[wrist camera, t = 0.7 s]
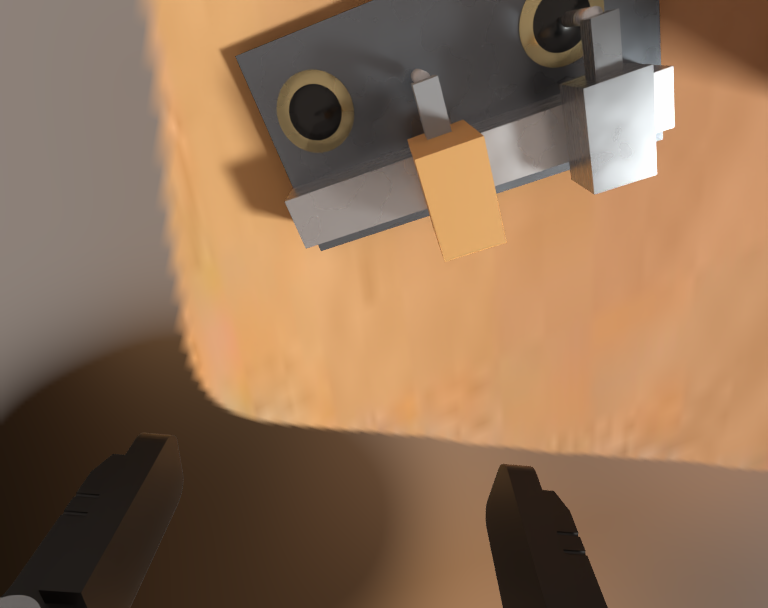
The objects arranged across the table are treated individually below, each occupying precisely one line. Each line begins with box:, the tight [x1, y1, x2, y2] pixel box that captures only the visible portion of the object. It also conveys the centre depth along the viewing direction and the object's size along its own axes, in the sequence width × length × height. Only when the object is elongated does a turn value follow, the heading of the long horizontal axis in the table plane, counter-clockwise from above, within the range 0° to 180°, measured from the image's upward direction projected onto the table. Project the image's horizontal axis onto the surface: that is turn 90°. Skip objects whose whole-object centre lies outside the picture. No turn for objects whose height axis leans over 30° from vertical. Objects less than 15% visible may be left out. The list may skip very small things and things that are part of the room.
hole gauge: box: [235, 0, 674, 251], centre depth 23 cm, size 22×12×7 cm, turn 109°
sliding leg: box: [407, 69, 507, 262], centre depth 22 cm, size 3×8×7 cm, turn 19°
